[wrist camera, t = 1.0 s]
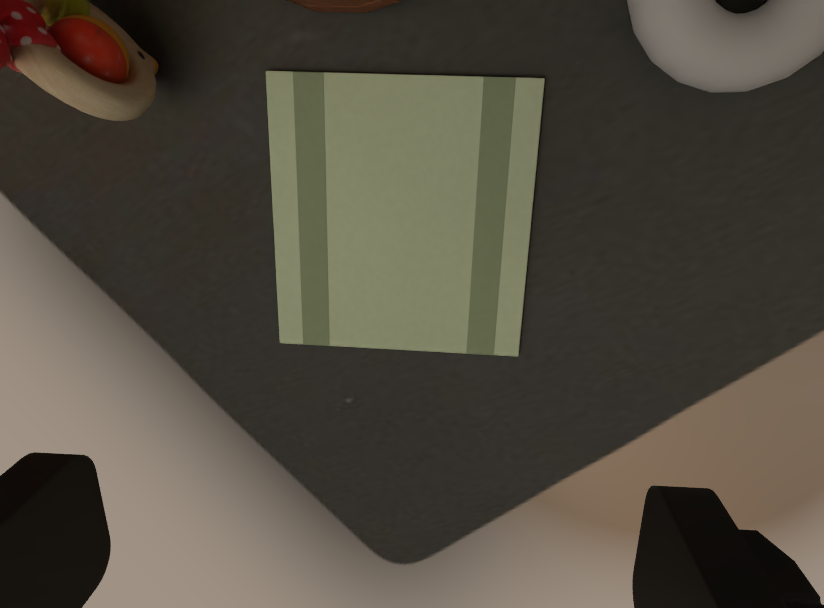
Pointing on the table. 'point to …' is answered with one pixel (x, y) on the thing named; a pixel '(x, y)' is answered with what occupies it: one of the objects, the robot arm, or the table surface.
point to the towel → (402, 208)
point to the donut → (728, 41)
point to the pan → (343, 5)
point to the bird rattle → (78, 56)
